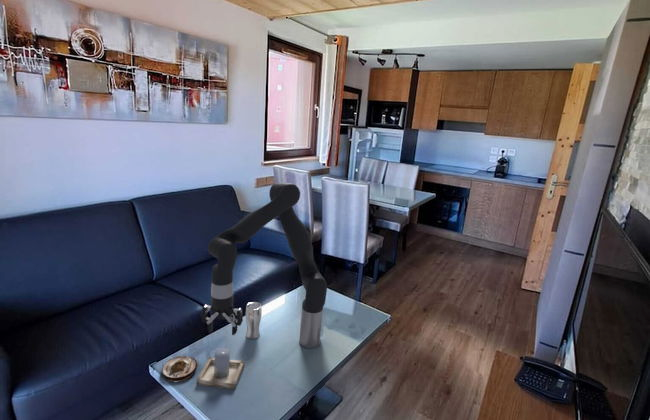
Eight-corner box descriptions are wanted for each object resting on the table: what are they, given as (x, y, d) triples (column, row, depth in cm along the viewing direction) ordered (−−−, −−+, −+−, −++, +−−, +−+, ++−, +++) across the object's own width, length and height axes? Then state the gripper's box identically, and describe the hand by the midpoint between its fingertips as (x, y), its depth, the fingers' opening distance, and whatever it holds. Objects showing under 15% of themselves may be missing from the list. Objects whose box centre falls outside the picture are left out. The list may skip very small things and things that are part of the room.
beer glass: (256, 341, 148) (258, 311, 144) (242, 338, 149) (243, 308, 145) (262, 332, 154) (264, 303, 150) (248, 329, 155) (249, 300, 152)
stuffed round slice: (191, 388, 120) (190, 378, 119) (150, 384, 120) (149, 374, 119) (206, 360, 134) (206, 351, 133) (170, 356, 134) (169, 347, 133)
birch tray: (244, 366, 132) (244, 361, 131) (234, 389, 120) (234, 383, 120) (209, 362, 133) (209, 357, 132) (196, 384, 121) (196, 379, 120)
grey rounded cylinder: (231, 369, 129) (232, 349, 127) (226, 379, 124) (227, 358, 121) (217, 367, 129) (218, 347, 127) (211, 377, 124) (212, 356, 122)
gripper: (245, 289, 121) (244, 328, 125) (206, 285, 121) (207, 324, 126) (239, 300, 114) (238, 341, 118) (198, 296, 114) (198, 337, 118)
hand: (222, 332), depth 122 cm, fingers open, 8 cm apart
